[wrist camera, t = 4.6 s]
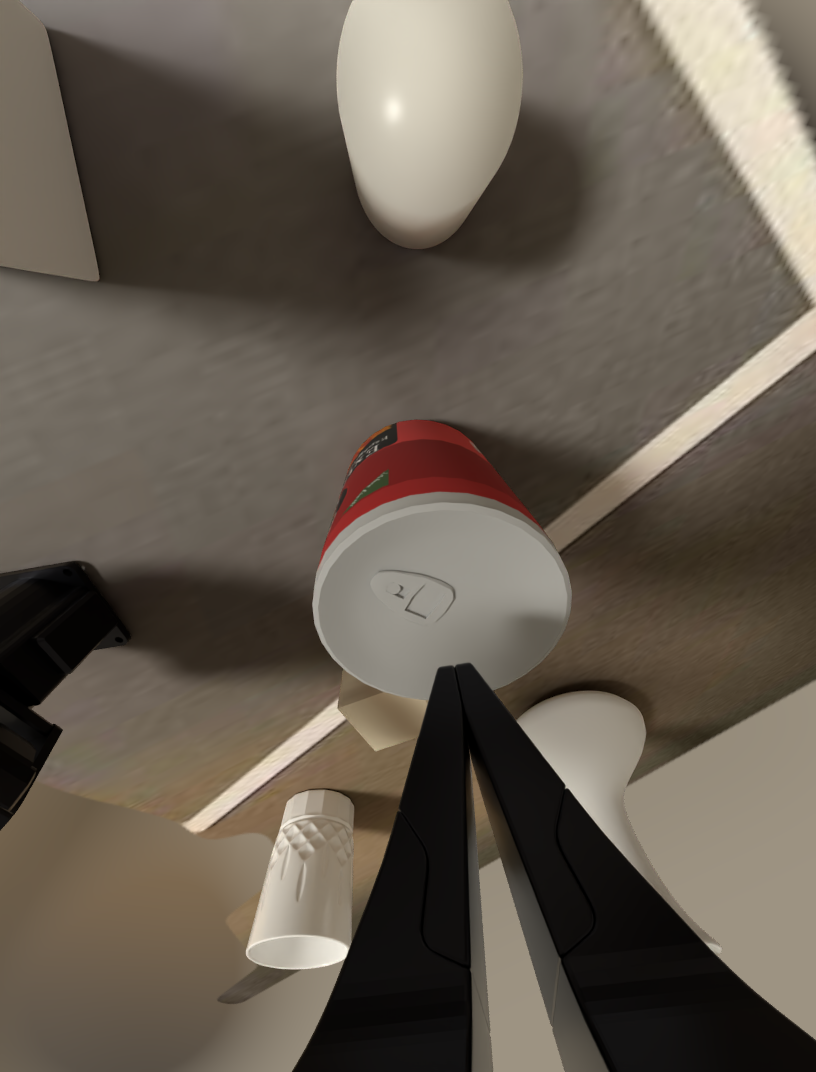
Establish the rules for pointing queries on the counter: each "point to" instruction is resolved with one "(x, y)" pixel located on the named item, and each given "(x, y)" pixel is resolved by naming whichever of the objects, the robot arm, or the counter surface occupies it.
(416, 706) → the birch block
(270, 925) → the white cup
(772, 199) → the counter surface
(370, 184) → the off-white smooth rounded part
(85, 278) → the milk carton
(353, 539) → the canned food
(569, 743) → the flower in vase
